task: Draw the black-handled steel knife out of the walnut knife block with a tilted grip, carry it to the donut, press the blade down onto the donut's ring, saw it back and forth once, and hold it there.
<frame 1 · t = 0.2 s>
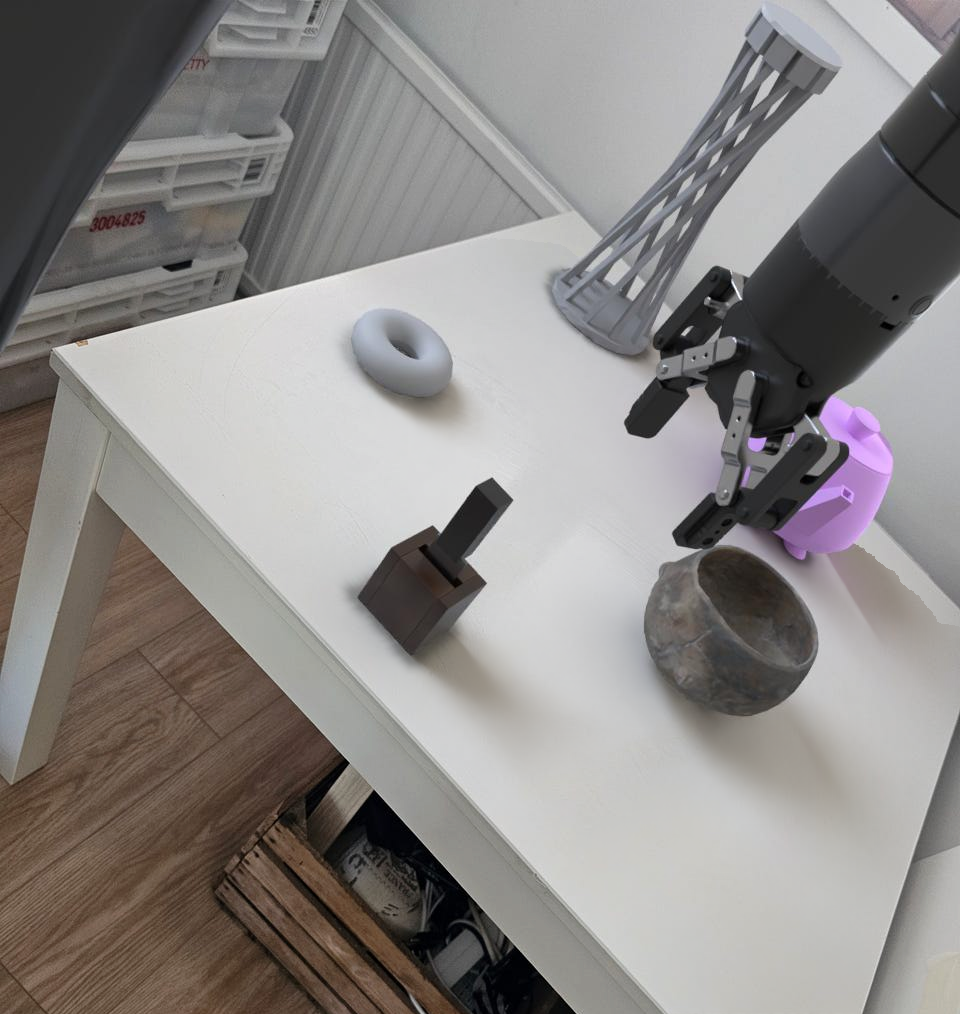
hand: (659, 486, 60), 24 cm above the table, tool pointing down, fingers open, 8 cm apart
bowl: (687, 670, 92), on the table
teapot: (756, 514, 115), on the table
donut: (394, 367, 97), on the table
knife block: (404, 613, 79), on the table
gray lattice tower: (599, 315, 123), on the table
knife: (446, 556, 74), in the knife block
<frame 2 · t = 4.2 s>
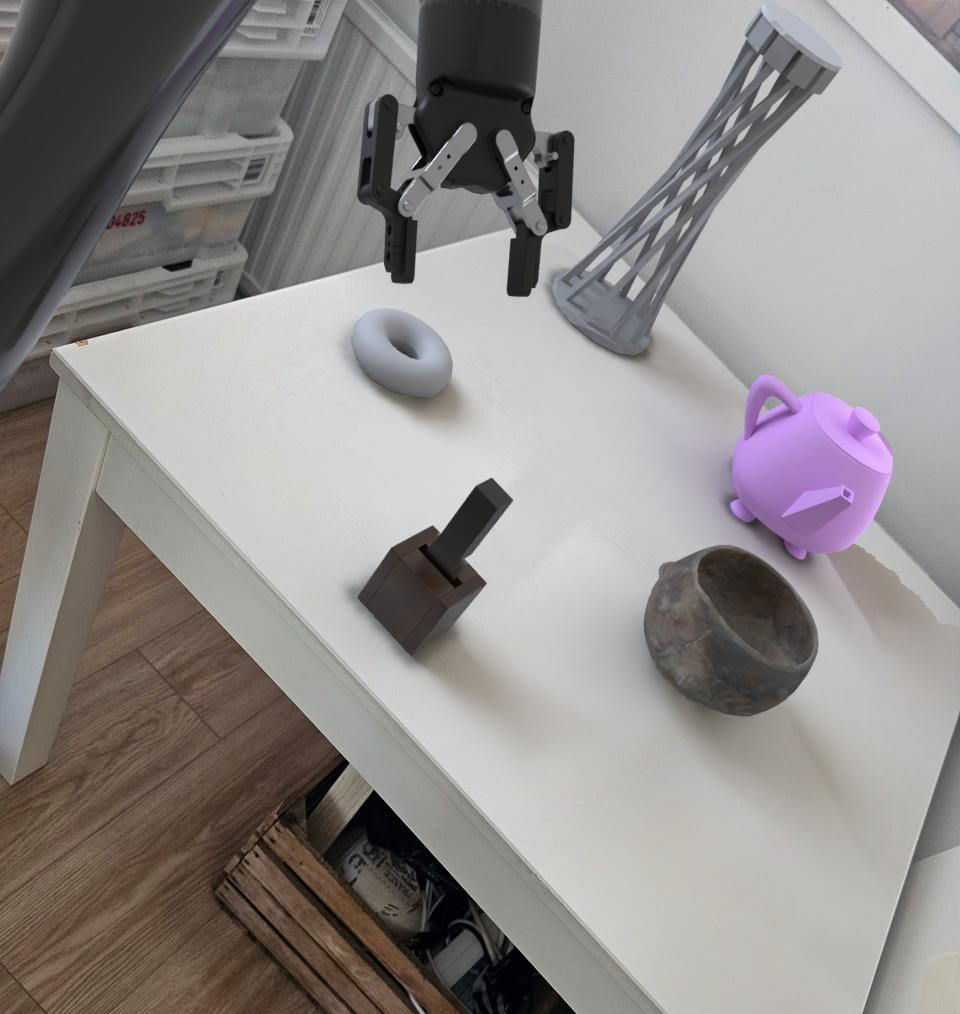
hand: (462, 290, 68), 21 cm above the table, tool tilted 40°, fingers open, 8 cm apart
nothing on the table moved.
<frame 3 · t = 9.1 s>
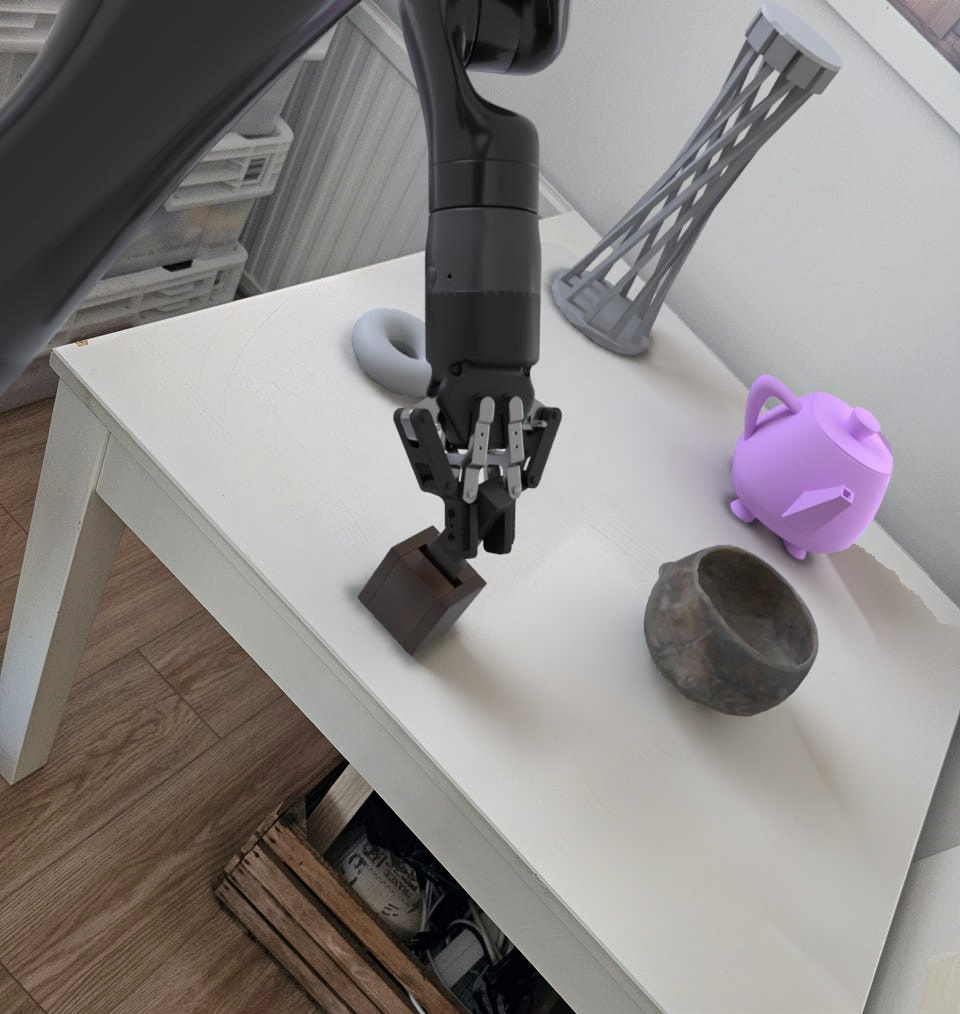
hand: (480, 553, 71), 10 cm above the table, tool tilted 45°, fingers closed on knife, 2 cm apart
knife: (446, 556, 74), in the knife block, touching gripper
everything else where it was.
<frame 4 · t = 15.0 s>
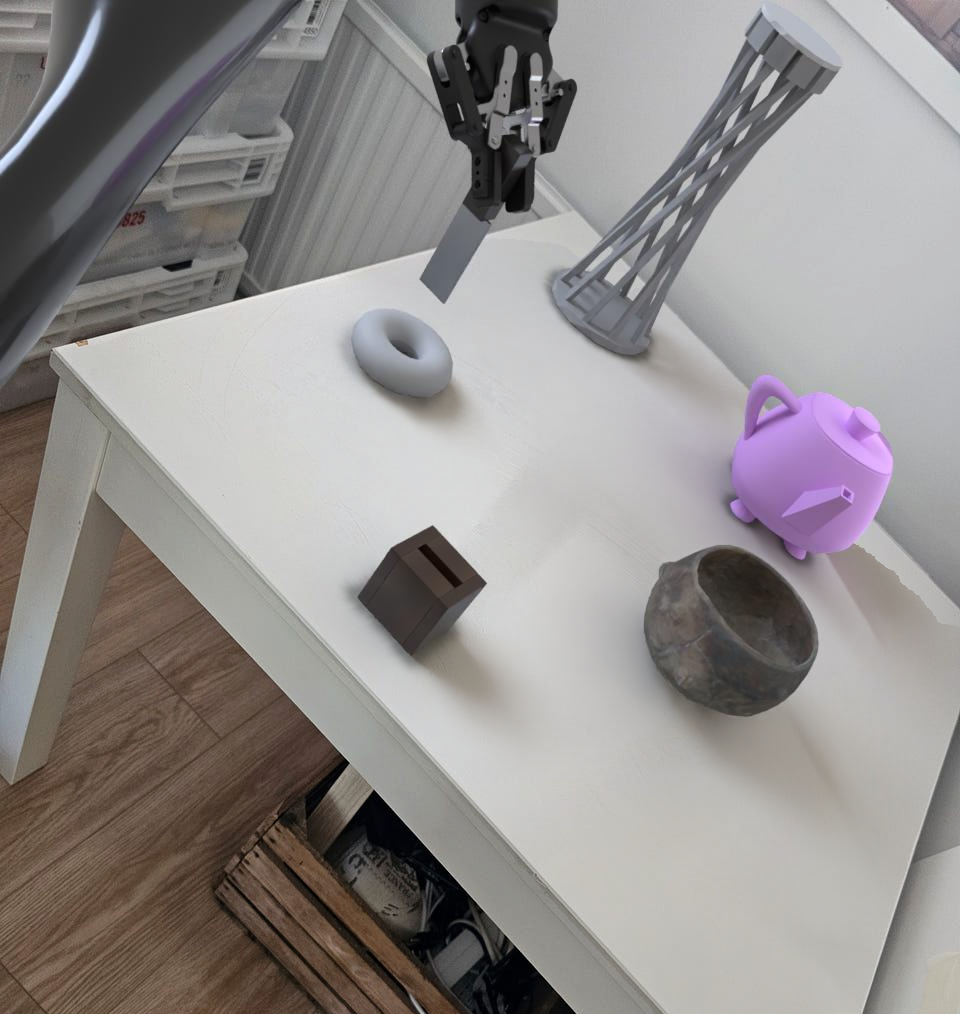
hand: (503, 208, 79), 21 cm above the table, tool tilted 45°, fingers closed on knife, 2 cm apart
knife: (472, 222, 82), point 18 cm above the table, touching gripper
everything else where it was.
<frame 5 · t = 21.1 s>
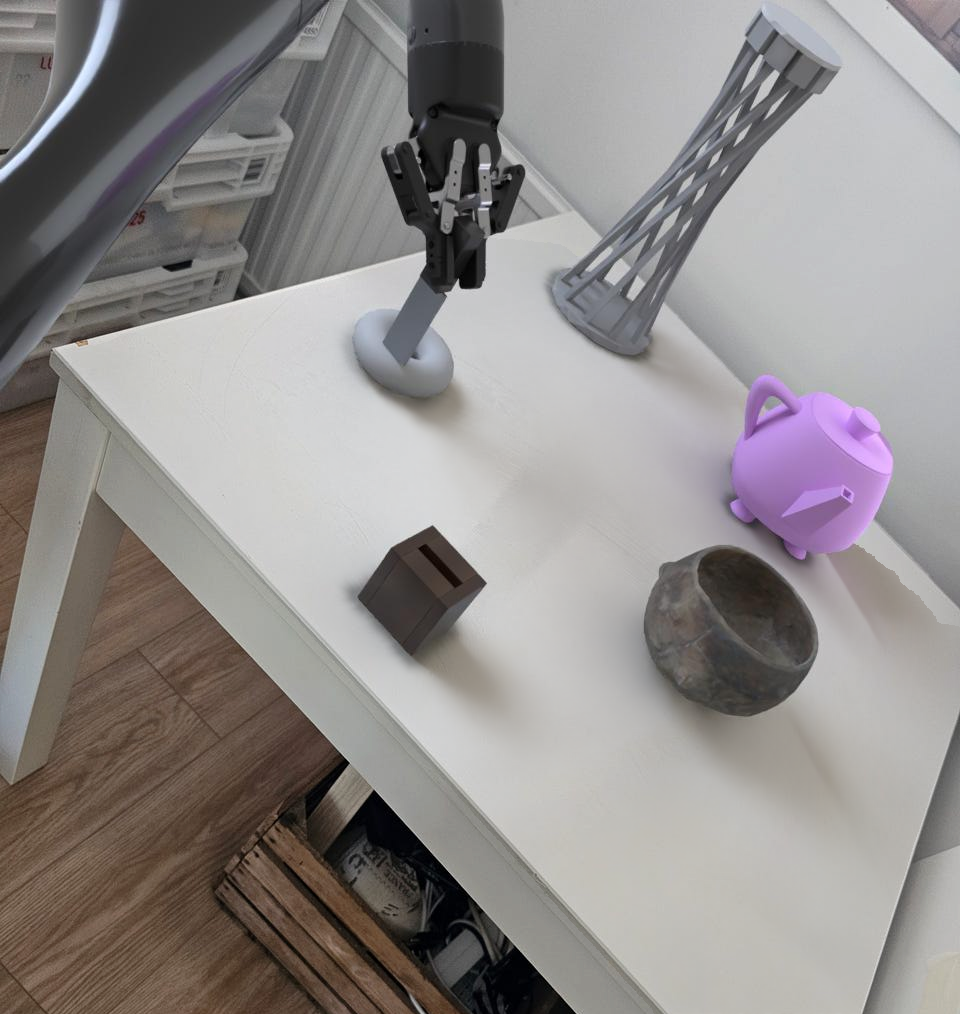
hand: (456, 286, 84), 13 cm above the table, tool tilted 45°, fingers closed on knife, 2 cm apart
donut: (395, 367, 97), on the table, touching knife
knife: (429, 293, 87), point 10 cm above the table, touching donut, gripper
everything else where it was.
at the end: knife touching donut, gripper; knife 3.8 cm from the donut (horizontally); donut moved 0.2 cm from its start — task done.
